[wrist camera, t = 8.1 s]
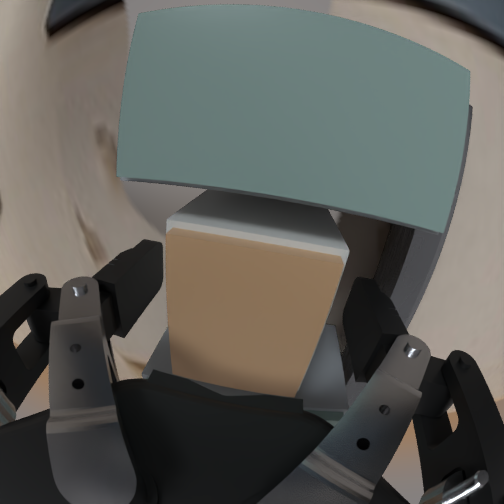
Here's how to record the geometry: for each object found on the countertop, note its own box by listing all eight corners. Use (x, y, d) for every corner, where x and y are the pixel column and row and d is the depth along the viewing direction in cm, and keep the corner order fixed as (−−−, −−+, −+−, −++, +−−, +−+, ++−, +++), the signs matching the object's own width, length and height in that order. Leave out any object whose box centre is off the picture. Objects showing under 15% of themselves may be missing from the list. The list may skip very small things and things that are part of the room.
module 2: (218, 182, 13) (159, 225, 7) (322, 199, 12) (353, 258, 6) (208, 289, 15) (167, 375, 9) (297, 304, 15) (298, 400, 9)
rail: (417, 83, 9) (442, 75, 7) (466, 106, 9) (494, 106, 7) (324, 388, 17) (326, 415, 15) (364, 390, 17) (369, 416, 15)
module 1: (202, 60, 10) (133, 9, 4) (394, 92, 10) (475, 68, 4) (190, 158, 12) (110, 183, 6) (376, 190, 12) (446, 241, 6)
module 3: (183, 299, 16) (137, 381, 10) (335, 325, 15) (350, 418, 9) (185, 356, 18) (153, 431, 12) (312, 378, 17) (314, 460, 11)
